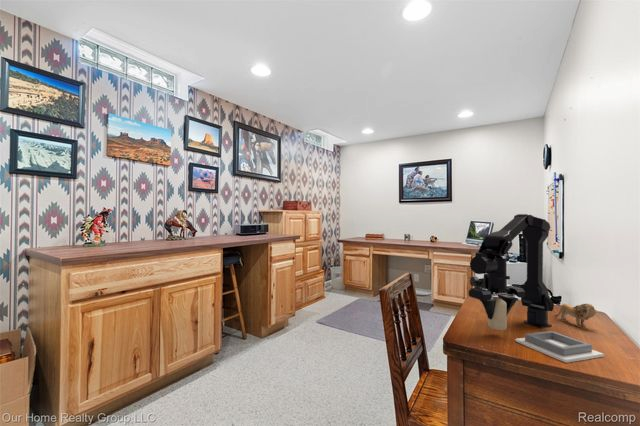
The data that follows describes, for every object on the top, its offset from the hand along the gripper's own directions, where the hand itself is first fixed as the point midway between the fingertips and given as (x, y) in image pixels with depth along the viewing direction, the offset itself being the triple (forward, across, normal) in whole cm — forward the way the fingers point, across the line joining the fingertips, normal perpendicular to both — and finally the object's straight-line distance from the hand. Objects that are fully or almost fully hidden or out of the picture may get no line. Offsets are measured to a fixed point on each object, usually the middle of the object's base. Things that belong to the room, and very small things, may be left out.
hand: (497, 318), depth 100 cm
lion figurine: (+6, -40, -2) cm, 41 cm away
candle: (+3, 0, 0) cm, 3 cm away
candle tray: (+6, -9, +13) cm, 17 cm away
